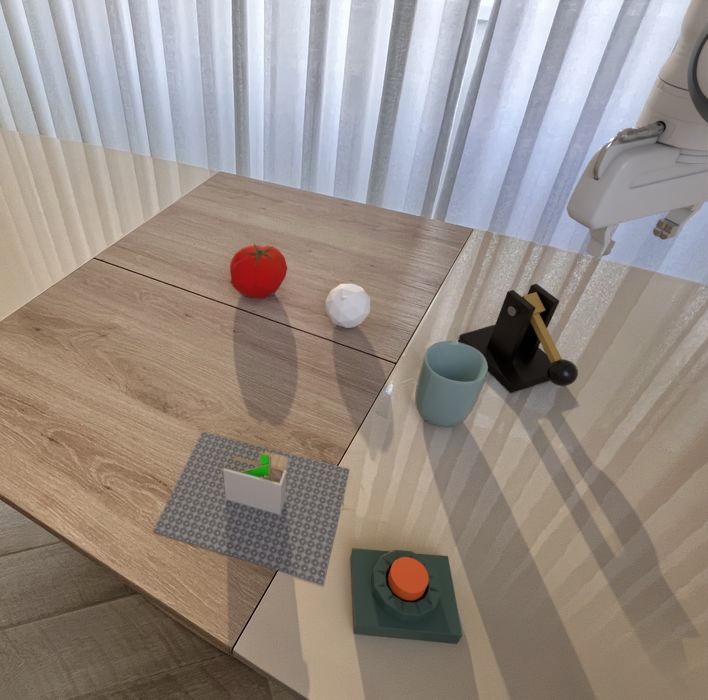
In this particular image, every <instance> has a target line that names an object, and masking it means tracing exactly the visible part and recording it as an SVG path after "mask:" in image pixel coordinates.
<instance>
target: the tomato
mask: <svg viewBox="0 0 708 700" xmlns="http://www.w3.org/2000/svg"><path fill="white" fill-rule="evenodd" d="M287 271H288V265H287V260H286V258H285V256H284V255H283V253H282V252H281V251H280V250H279V249H278V248H277V247H275V246H274V245H265V246H262V245H256V244H255V243H253V245H248V246H245V247H242V248H240V249H239V250H238V251H237V252H236V253H235V254H234V255H233V257H232V259H231V260H230V264H229V272H230V273H229V274H230V283H231V285H232V287H233V288H234V289H235V290H236V291H237V292H238V293H240V294H241V295H243V296H245V297H248V298H254V299H255V298H256V299H265V298H267V297H270V296H271V295H273V294H274V293H276V292H277V291H278V289H279V288H280V286H281V285H282V283H283V281H284V280H285V278H286V275H287Z"/></svg>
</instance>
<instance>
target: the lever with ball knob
mask: <svg viewBox="0 0 708 700" xmlns="http://www.w3.org/2000/svg"><path fill="white" fill-rule="evenodd" d="M527 294H528V293H527ZM527 294H525V295H521V296H522V297H523V298H524V299H525V300H527V301H528V302H529V303H530V304H532V305H533V306H534V307H535V311H534V313H533V315H532V318H531V320H530V322H531V324H532V326H533V328H534V330H535V332H536V334H537V336H538V338H539V340H540V342H541V343H540V345H541V346H542V348H543V351H544V352H545V353H546V354H547V356H548V358H549V360H550V362H551V364H550V365H549V367H548V369H547V376H548V378H549V380H550V382H551V384H553V385H555V386H559V387H568V386H570V385H572V384H573V383H575V381H576V380H577V379H578V375H579V370H578V368H577V366H576V364H575V363H573V361H570V360H568V359H566V358H565V359H563V358H562V356H561V353H560V352H559V350H558V348H557V346H556V344H555V342H554V340H553V338H552V336H551V334H550V332H549V330H548V327H547V328H546V326H545V324H544V322H543V320H542V318H541V316H540V313H542V312H543V311H545V308H544V306H543V304H542V302H541V300H540V298H539V296H538V294H537V292H535V293H532V294H528V295H527Z"/></svg>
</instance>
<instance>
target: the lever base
mask: <svg viewBox="0 0 708 700" xmlns="http://www.w3.org/2000/svg"><path fill="white" fill-rule="evenodd" d="M535 292H537V294H538V296H539V298H540V300H541V302H542V304H543V306H544V308H545V311H543V312H542V313H540V316H541V318H542V320H543V322H544V324H545V326H546V328H547V329H548V327H549V325H550V323H551V321H552V318H553V316H554V314H555V313H556V310H557V307H558V305H559V303H560V300H559V298H556V297H555V296H554V295H552V294H551V293H550V292H549V291H547V290H546V289H545V288H544V287H542V286H541V285H540V284H538V283H533V284H530V286H529V289H528V292H527V294H526V295H528V294H532V293H535ZM522 296H523V295H521V294H520V293H518V292H517V291H516V290H514V289H511V290H508V291H507V292H506V295H505V297H504V300H503V303H502V305H501V308H500V310H499V313H498V316H497V319H496V321H495V323H494V324H491V325H488V326H485V327H481V328H478V329H475V330H471V331H467V332H464V333H461V334H459V338H458V340H457V342H459V343H463V344H466V345H469V346H471V347H473V348H475V349H477V350H478V351H479V352H481V353H482V354H483V356H484V357H485V359H486V361H487V364H488V372H487V373H489V374H490V375H491V376H492V377H494V379H495V380H496V381H497V382H498V383H499V384H500V386H502V387H503V388H504V389H505V390H506V391H507V392H508V393H509V394H513V393H515V392H519V391H522V390H525V389H529V388H532V387H534V386H537V385H540V384H544V383H546V382H549V381H550V380H549V378H548V376H547V369H548V367H549V365H550V364H551V362H550V360H549V358H548V356H547V354H546V352H545V351H544V350H542V349H541V347H540V346H541V342H540V340H539V338H538V336H537V334H536V332H535V330H534V328H533V326H532V324H531V322H530V320H531V318H532V315H533V313H534V311H535V307H534V306H533V305H532V304H530V303H529V302H528V301H527V300H525V299H524V298H523V297H522ZM550 382H551V381H550Z"/></svg>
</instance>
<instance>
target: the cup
mask: <svg viewBox="0 0 708 700" xmlns="http://www.w3.org/2000/svg"><path fill="white" fill-rule="evenodd" d="M488 373H489V372H488V364H487V361H486V359H485V357H484V356H483V354H482V353H481V352H479V351H478V350H477V349H475V348H473V347H471V346H469V345H466V344H463V343H459V342H458V341H449V340H445V341H438V342H436V343H435V342H434V343H433V344H431V345H430V346H429V347H428V348H427V349H426V351H425V352H424V355H423V357H422V361H421V364H420V369H419V372H418V375H417V376H418V377H417V380H416V385H415V392H414V393H415V395H414V397H415V399H414V401H415V407H416V410H417V412H418V415H419V416H420V417H421V418H422V419H423V420H424V421H426V422H427V423H428V424H431V425H433V426H436V427H441V428H451V427H456V426H458V425H460V424H462V423H463V422H464V421H466V419H467V418H468V417H469V416H470V415H471V413H472V411H473V410H474V407H475V406H476V403H477V401H478V399H479V397H480V394H481V392H482V389H483V387H484V385H485V382H486V379H487V377H488Z"/></svg>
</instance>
